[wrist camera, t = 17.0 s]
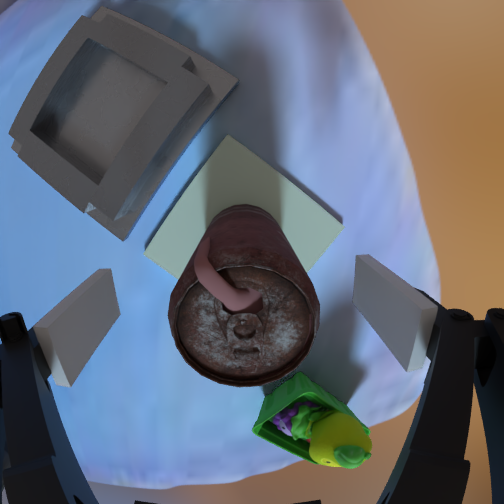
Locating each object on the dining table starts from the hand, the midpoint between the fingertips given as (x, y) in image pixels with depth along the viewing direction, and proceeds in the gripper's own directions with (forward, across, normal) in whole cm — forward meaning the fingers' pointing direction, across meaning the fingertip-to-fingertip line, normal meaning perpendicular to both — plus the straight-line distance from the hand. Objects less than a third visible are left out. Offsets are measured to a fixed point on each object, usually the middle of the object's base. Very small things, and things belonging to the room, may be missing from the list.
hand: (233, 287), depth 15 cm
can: (+9, +1, 0) cm, 10 cm away
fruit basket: (+10, +7, -18) cm, 22 cm away
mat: (+10, +1, 0) cm, 10 cm away
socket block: (+10, -10, +12) cm, 19 cm away
